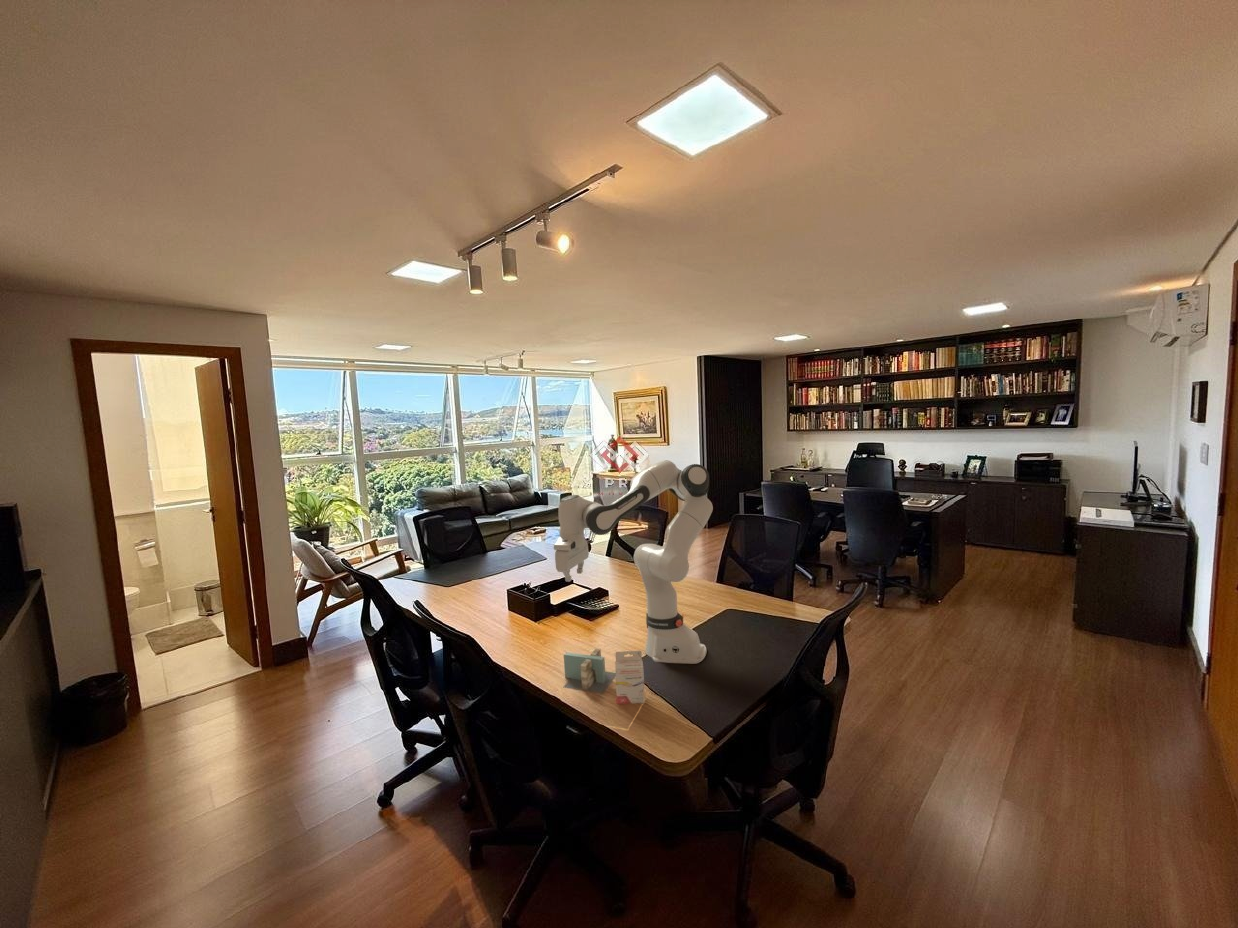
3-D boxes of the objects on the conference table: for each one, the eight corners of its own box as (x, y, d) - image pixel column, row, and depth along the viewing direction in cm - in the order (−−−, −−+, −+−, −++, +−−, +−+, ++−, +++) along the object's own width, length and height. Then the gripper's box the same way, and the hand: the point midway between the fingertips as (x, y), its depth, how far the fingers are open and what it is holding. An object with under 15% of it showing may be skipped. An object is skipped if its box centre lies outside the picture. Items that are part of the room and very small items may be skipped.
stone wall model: (596, 670, 169) (595, 648, 169) (601, 671, 169) (600, 649, 168) (582, 689, 158) (580, 665, 157) (587, 689, 158) (585, 665, 157)
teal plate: (605, 680, 163) (604, 657, 162) (603, 683, 161) (602, 659, 160) (567, 674, 168) (566, 652, 167) (565, 677, 166) (563, 654, 165)
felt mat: (617, 674, 167) (617, 673, 167) (602, 694, 155) (602, 693, 155) (580, 668, 172) (580, 667, 172) (563, 688, 160) (562, 686, 160)
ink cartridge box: (617, 705, 149) (614, 658, 147) (616, 696, 154) (614, 651, 152) (645, 704, 149) (643, 657, 148) (644, 694, 154) (641, 649, 153)
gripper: (576, 533, 191) (578, 568, 192) (551, 546, 172) (553, 585, 173) (591, 533, 189) (593, 569, 190) (567, 547, 170) (569, 586, 171)
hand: (574, 576), depth 181 cm, fingers open, 8 cm apart
